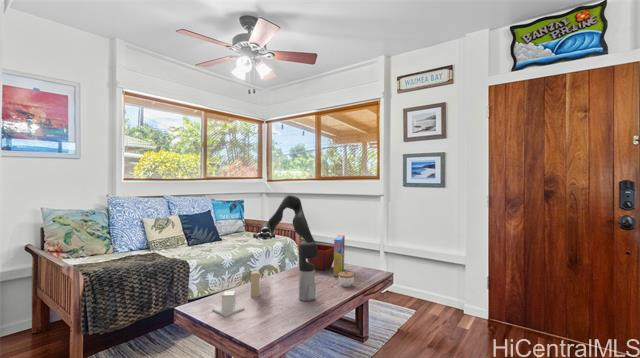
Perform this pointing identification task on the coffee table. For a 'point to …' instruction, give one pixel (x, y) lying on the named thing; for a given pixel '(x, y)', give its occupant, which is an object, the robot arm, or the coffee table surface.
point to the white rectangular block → (228, 300)
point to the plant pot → (323, 257)
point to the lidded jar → (346, 278)
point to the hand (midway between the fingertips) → (263, 237)
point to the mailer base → (255, 283)
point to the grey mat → (229, 312)
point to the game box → (339, 254)
